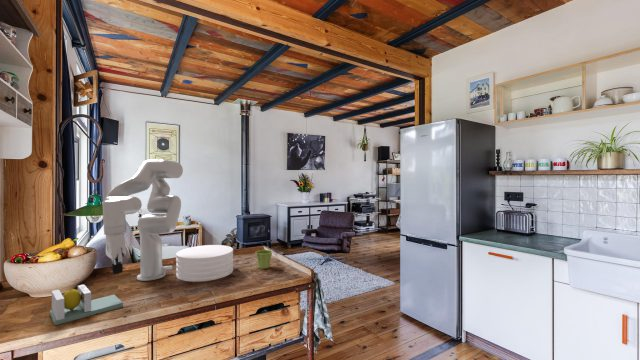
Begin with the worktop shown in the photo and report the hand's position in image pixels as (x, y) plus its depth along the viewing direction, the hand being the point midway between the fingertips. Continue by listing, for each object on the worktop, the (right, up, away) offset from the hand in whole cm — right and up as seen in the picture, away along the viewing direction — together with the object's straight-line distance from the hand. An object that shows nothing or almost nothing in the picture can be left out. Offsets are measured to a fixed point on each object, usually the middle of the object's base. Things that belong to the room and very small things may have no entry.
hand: (117, 272), depth 125 cm
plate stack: (+24, -11, +34) cm, 43 cm away
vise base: (-4, -11, -11) cm, 16 cm away
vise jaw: (-5, -9, -12) cm, 16 cm away
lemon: (-7, -10, -15) cm, 19 cm away
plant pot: (+53, -10, +43) cm, 69 cm away
